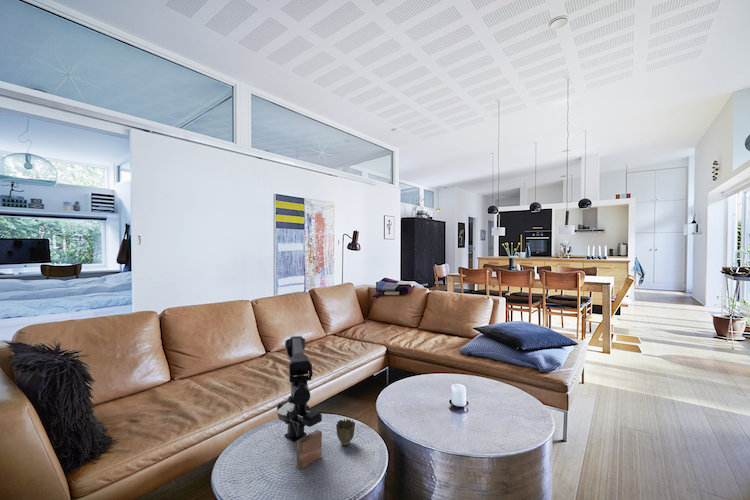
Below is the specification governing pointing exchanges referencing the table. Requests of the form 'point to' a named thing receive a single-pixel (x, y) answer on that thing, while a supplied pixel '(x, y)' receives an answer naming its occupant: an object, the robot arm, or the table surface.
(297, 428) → the robot arm
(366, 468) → the table surface
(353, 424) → the cup
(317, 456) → the wooden block
